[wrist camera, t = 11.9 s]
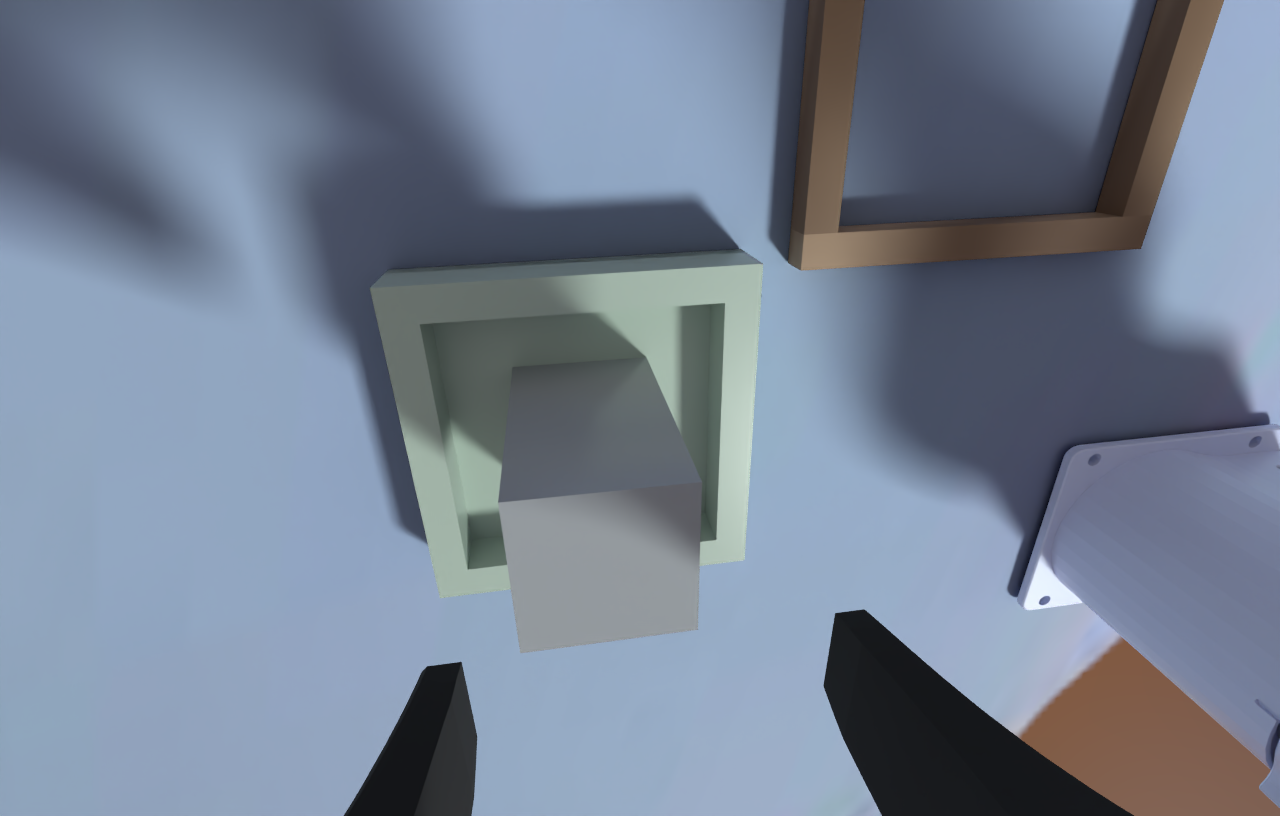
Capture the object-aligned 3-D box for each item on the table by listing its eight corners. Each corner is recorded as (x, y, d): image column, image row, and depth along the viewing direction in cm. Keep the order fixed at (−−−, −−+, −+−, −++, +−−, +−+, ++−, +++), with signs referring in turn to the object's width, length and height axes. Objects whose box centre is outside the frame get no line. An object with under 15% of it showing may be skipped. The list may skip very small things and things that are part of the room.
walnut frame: (1257, -218, 15) (1304, -239, 14) (1113, 242, 20) (1140, 248, 19) (829, -237, 13) (848, -262, 12) (787, 263, 18) (800, 270, 17)
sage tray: (740, 248, 18) (763, 263, 16) (727, 524, 22) (744, 560, 20) (387, 269, 17) (369, 287, 15) (448, 557, 21) (439, 598, 19)
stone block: (646, 357, 18) (701, 482, 12) (648, 469, 20) (697, 629, 14) (512, 366, 18) (498, 503, 12) (526, 481, 20) (520, 653, 13)
